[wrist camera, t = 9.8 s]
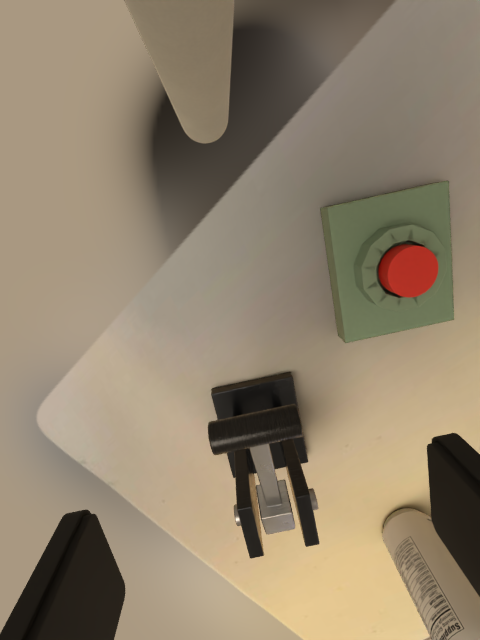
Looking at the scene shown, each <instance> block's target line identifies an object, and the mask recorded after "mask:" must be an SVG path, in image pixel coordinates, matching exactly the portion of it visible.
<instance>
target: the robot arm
mask: <svg viewBox="0 0 480 640" xmlns="http://www.w3.org/2000/svg"><path fill="white" fill-rule="evenodd" d="M427 456H428V471H429V487H430V502H431V518H432V523H433V526H434V529H435V531H436V533H437V534H438V536H439V538H440V539H441V541H442V542H443V543H444V545H445V546H446V548H447V549H448V551H449V552H450V554H451V555H452V557H453V558H454V560H455V561H456V563H457V564H458V566H459V567H460V569H461V570H462V572H463V573H464V575H465V576H466V578H467V579H468V581H469V582H470V584H471V585H472V587H473V588H474V590H475V591H476V593H477V594H478V596H479V597H480V454H479V453H478V452H476V451H475V450H474V449H473V448H472V447H471V446H470V445H469V444H468V443H467V442H466V441H465V440H464V439H462V438H461V437H460V436H459V435H458V434H456V433H451V434H447V435H442V436H437V437H434V438H433V439H432V444H428V445H427ZM124 598H125V584H124V580H123V578H122V576H121V573H120V571H119V568H118V566H117V564H116V561H115V559H114V556H113V554H112V552H111V549H110V547H109V544H108V542H107V539H106V537H105V535H104V533H103V530H102V528H101V525H100V523H99V520H98V518H97V516H96V515H95V514H91V513H90V511H88V510H82V511H77V512H72V513H67V514H65V515H64V516H63V517H62V519H61V521H60V523H59V525H58V527H57V528H56V530H55V532H54V534H53V536H52V538H51V540H50V542H49V543H48V545H47V547H46V549H45V551H44V553H43V555H42V557H41V559H40V560H39V562H38V564H37V566H36V568H35V570H34V571H33V573H32V575H31V577H30V579H29V581H28V583H27V585H26V587H25V588H24V590H23V592H22V594H21V596H20V598H19V600H18V602H17V603H16V605H15V607H14V609H13V611H12V613H11V615H10V617H9V618H8V620H7V622H6V624H5V626H4V628H3V630H2V632H1V634H0V640H114V637H115V633H116V629H117V626H118V622H119V617H120V614H121V610H122V606H123V602H124Z"/></svg>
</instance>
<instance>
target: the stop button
mask: <svg viewBox="0 0 480 640" xmlns="http://www.w3.org/2000/svg"><path fill="white" fill-rule="evenodd" d="M378 273H379V279H380V282H381V283H382V285H383V286H384V287H385V288H386V289H387V290H389V291H391V292H393V293H395V294H397V295H400V296H402V297H416V296H419V295H421V294H423V293H425V292H426V291H427V290H429V289H430V288H431V286H432V285H433V284H434V282H435V280H436V278H437V275H438V261H437V259H436V257H435V255H434V254H433V253H432V252H431V251H430V250H429V249H427V248H425V247H422V246H416V245H409V244H403V245H398V246H396V247H394V248H392V249H390V250H389V251H388V252H387V253H386V254H385V255H384V257H383V258H382V260H381V262H380V265H379V270H378Z"/></svg>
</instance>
